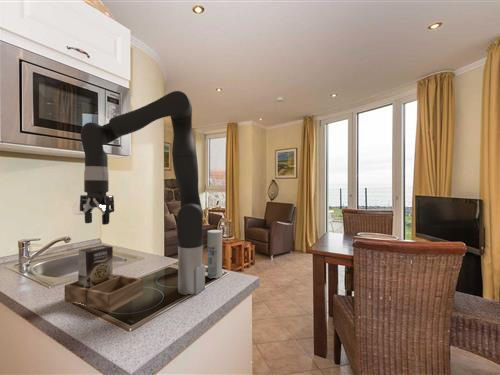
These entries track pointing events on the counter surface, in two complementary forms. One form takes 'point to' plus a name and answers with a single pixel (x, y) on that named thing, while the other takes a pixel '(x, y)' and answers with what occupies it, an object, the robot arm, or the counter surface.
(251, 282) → the counter surface
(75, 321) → the counter surface
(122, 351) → the counter surface
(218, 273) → the spray can
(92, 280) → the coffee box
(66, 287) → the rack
